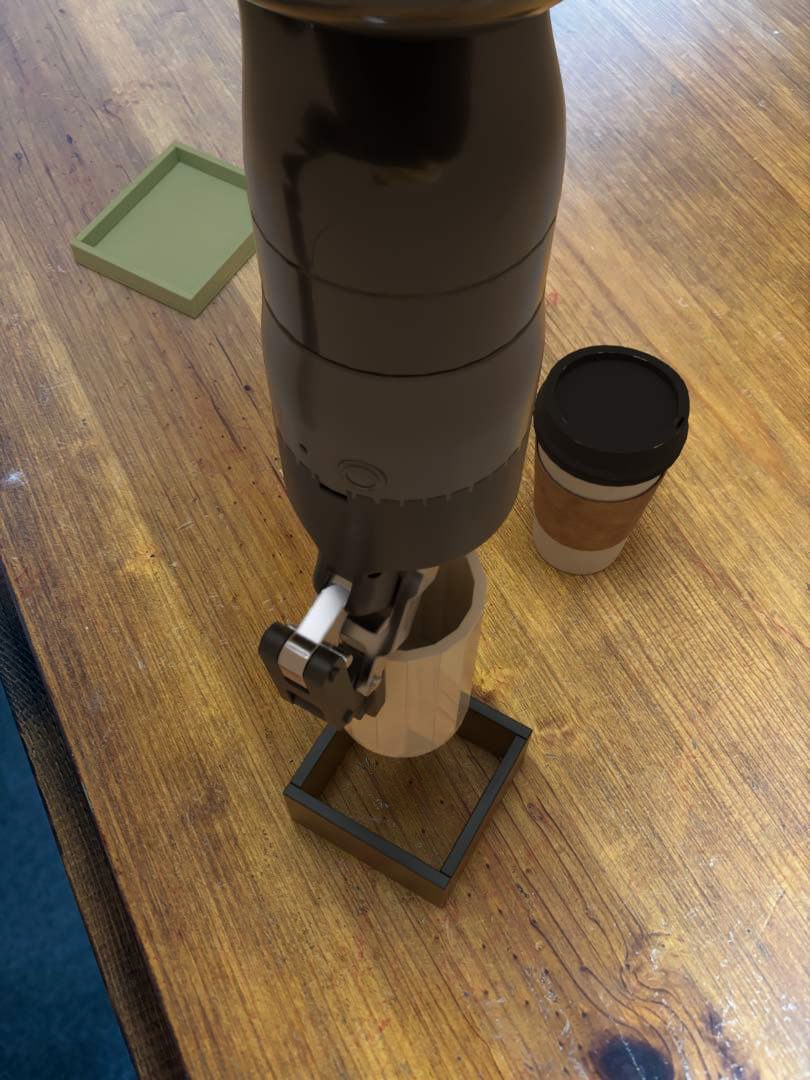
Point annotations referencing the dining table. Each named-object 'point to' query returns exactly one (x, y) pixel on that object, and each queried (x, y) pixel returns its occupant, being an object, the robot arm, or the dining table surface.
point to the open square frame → (378, 852)
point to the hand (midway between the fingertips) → (401, 631)
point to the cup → (429, 666)
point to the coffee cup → (602, 451)
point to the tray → (174, 230)
